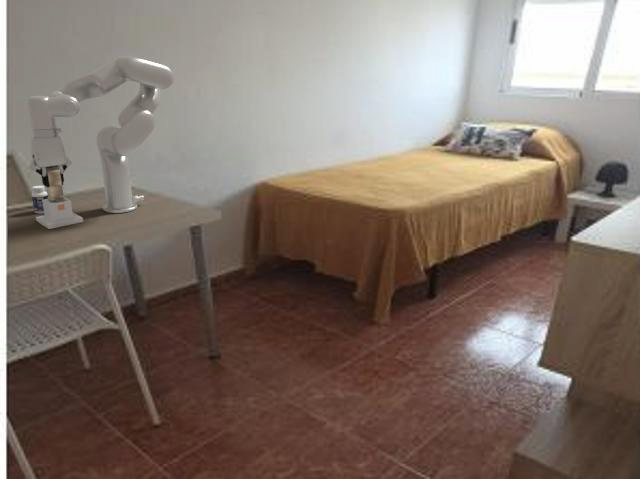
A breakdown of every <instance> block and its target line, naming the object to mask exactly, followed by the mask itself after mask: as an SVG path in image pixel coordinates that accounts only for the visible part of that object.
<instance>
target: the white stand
mask: <svg viewBox="0 0 640 479" xmlns="http://www.w3.org/2000/svg"><path fill="white" fill-rule="evenodd" d="M55 201H56V202H54V203H51V202H50V201H49V200H48V199H44V200H42V202H43V208H44V213H43V215H38V216H35V221H36V222H37V223H39V224H40V225H42V226H43V227H45V228H46V229H48V230H51V229H56V228H61V227H65V226H70V225H75V224H79V223H84V218H83V217H82V216H80V215H78V214H77V213H75V212H74V211H73V207H72V206H73V205H72V200H71V199H69V198H67V197H65V196H64V200H63V198H61V199H56V200H55Z"/></svg>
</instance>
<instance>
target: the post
mask: <svg viewBox="0 0 640 479" xmlns="http://www.w3.org/2000/svg"><path fill="white" fill-rule="evenodd" d="M46 175H47V176H48V180H49V186H50V187H46V186H45V188H46V192H47V194H48V200H49V201H50V202H51V203H54V202H56V201H55V200H56V199H61V198H63V200H64V197H65V195H64V188H63V185H62V182H61V176H60V170H59V166H53V167H46Z"/></svg>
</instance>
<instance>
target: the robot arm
mask: <svg viewBox="0 0 640 479" xmlns="http://www.w3.org/2000/svg"><path fill="white" fill-rule="evenodd" d="M128 81H129V82H136V83H139V89H138V90H139V91H138V93H137V94H136V95H135V97H134V98H133V99H132V100H131V101H130V102H129V103H128V104H127V105H126V106H125V107H124V108H123V109H122V110H121V112H120V113H118V114H119V115H118V117H117V121H118V124H119V126H120V128H119V127H117V126H109V125H108V126H104V127H102V128H101V129H100V130H99V131H98V132H97V135H96V146H97V150H98V152H99V155H100V156H99V157H100V162H101V170H102V178H103V186H104V193H105V199H106V203H105V204H104V205H103V206H102V210H103V211H104V212H106V213H111V214H121V213H122V214H123V213H128V212H133V211H135V210H137V208H138V204H137V202H140V201H141V202H142V201H144V200H145V196H144V195H143V194H142V195H138V194H136V195H133V192H132V185H131V184H132V183H131V176H130V175H131V174H130V165H129V159H128V156H129V155H132V154H133V153H134V152H135V151H136V150H138V148H140V146H141V145H142V144H143V143H144V142H145V141H146V140H147V138H148V137H149V136H150V135H151V134H152V132H153V131H154V129H155V127H156V126H155V125H156V119H155V116H154V113H155V111H156V110H157V109H158V107H159V105H160V103H161V99H162V98H161V96H162V95H161V94H162V93H161V90H165V89H169V88H170V87H172V86H173V84H174V81H175V75H174V73H173V71H172V70H171V69H170V67H168V66H166V65H163V64H161V63H156V62H153V61H150V60H147V59H143V58H140V57H137V56H130V55H120V56H118V57H116V58H113V59H112V60H110V61H109V62H107V63H106V64H104V65H102V66H100V67H99V68H97V69H96V70H94V71H92V72H90V73H88V74H85V75H84V76H81V77H80V78H77V79H75V80H73V81H70V82H69V83H66V84H64V85H63V86H61V87H60V88H58V89H55V90H54V91H53V92H51V93H50V94H49V95H33V96H32V95H31V96H29V97H28V98H27V107H28V113H29V118H30V123H31V130H32V136H33V137H31V138H30V151H31V152H30V153H31V162H30V164H29V165H28V166H29V167H28V170H30V171H33V172H36V173H37V174H39V175H40V176H41V180H42V182H41V183H42V186H44V187H45V188H46V187H50V186H49V180H48V176H47V175H46V167H53V166H59V170H60V176H61V182H62V186H63V185H64V182H65V178H64V177H65V176H64V174H65V172H66V170H67V168H68V167H69V166H71V164H72V160H70V159H69V157H67V155H66V151H65V147H64V144H63V141H62V138H61V136H60V135H59V134H60V133H62V129H61V128H59V127H57V121H56V118H72V117H76V116H77V115H78V114H79V112H80V111H81V110H80V109H81V104H80V103H82V102H83V101H85V100H90V99H94V98H99V97H102V96H106V95H108V94H110V93H111V92H113V91H114V90H116V89H117V88H119V87H120V86H122V85H124V84H125V83H127V82H128Z"/></svg>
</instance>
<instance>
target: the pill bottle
mask: <svg viewBox="0 0 640 479" xmlns="http://www.w3.org/2000/svg"><path fill="white" fill-rule="evenodd" d="M45 188H46V187H45V185H34V186H32V193H31V199H32V205H33V207H32V208H33V211H34V213H35V214H45V213H44V208H43V202H42V200H44V199H48V194H47V191H45V190H46V189H45Z"/></svg>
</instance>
